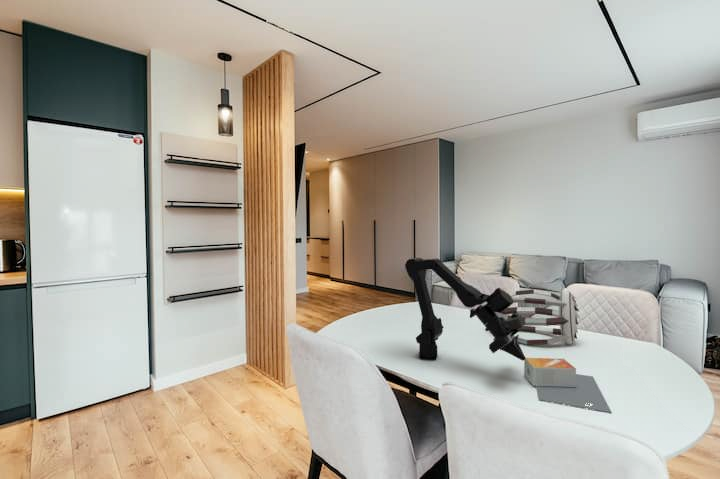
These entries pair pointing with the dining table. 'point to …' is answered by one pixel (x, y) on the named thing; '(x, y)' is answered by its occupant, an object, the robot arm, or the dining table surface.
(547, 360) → the small box
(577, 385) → the mouse pad
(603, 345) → the dining table surface
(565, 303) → the decorative basket
